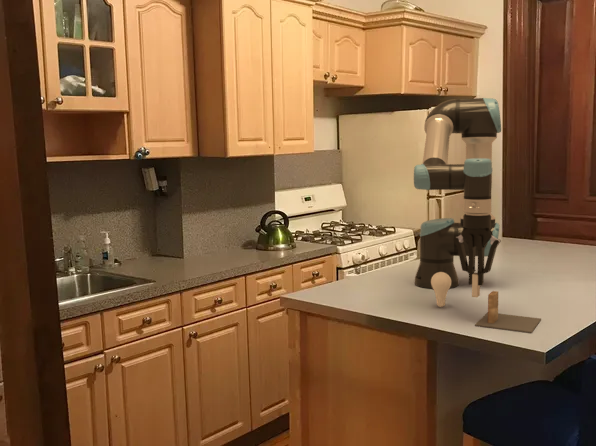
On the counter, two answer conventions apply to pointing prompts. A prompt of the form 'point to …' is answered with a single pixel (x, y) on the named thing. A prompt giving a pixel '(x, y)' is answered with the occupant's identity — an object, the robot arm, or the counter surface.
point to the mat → (510, 323)
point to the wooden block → (493, 307)
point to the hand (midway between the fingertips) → (475, 296)
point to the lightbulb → (441, 287)
